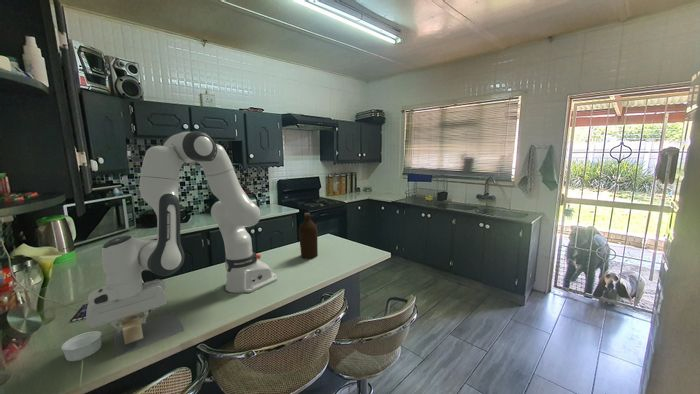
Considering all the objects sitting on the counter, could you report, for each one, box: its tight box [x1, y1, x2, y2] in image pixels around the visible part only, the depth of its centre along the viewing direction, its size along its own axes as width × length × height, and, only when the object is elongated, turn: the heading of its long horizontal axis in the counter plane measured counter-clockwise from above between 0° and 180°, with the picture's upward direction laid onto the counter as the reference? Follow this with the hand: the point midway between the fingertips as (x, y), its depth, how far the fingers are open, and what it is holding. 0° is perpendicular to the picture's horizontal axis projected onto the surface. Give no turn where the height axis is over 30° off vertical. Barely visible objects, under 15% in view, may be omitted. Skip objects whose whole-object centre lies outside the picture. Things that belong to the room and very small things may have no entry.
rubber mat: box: [113, 311, 185, 358], centre depth 94 cm, size 18×16×1 cm
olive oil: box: [298, 212, 319, 260], centre depth 158 cm, size 11×11×25 cm
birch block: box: [121, 313, 143, 344], centre depth 90 cm, size 4×4×12 cm
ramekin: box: [61, 330, 102, 362], centre depth 85 cm, size 9×9×4 cm
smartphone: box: [68, 302, 89, 324], centre depth 109 cm, size 8×1×15 cm
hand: (132, 327), depth 91 cm, fingers closed on birch block, 4 cm apart
